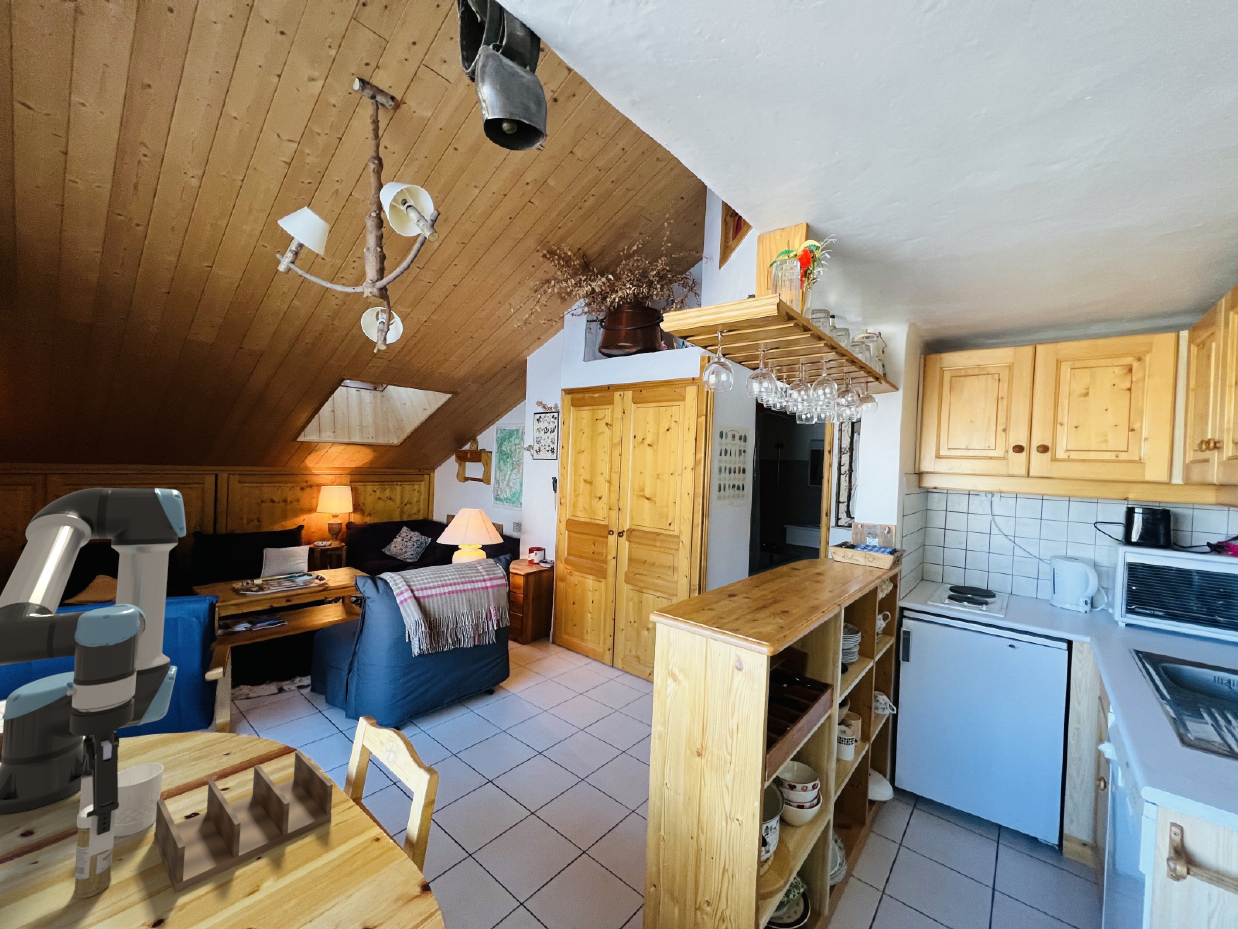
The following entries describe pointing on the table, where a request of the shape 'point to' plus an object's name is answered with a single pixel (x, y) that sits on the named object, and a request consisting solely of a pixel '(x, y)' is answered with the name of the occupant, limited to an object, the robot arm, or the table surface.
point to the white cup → (137, 798)
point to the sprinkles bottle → (90, 861)
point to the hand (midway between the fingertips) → (95, 831)
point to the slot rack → (242, 824)
